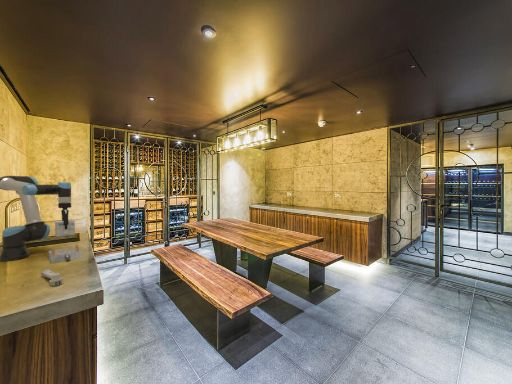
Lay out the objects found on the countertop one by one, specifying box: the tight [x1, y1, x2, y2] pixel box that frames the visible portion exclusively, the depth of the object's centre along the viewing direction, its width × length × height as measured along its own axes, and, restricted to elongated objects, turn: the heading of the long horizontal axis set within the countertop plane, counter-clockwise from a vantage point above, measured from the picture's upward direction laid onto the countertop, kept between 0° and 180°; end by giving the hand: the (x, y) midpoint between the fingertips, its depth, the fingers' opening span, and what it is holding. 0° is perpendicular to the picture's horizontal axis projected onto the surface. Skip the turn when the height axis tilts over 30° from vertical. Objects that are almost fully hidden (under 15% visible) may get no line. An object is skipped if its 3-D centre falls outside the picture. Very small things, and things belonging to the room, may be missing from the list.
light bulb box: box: [54, 219, 76, 238], centre depth 170 cm, size 11×7×11 cm, turn 144°
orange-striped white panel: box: [47, 243, 84, 264], centre depth 169 cm, size 23×18×8 cm
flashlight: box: [40, 268, 63, 287], centre depth 129 cm, size 5×7×25 cm
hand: (65, 232), depth 170 cm, fingers closed on light bulb box, 7 cm apart
